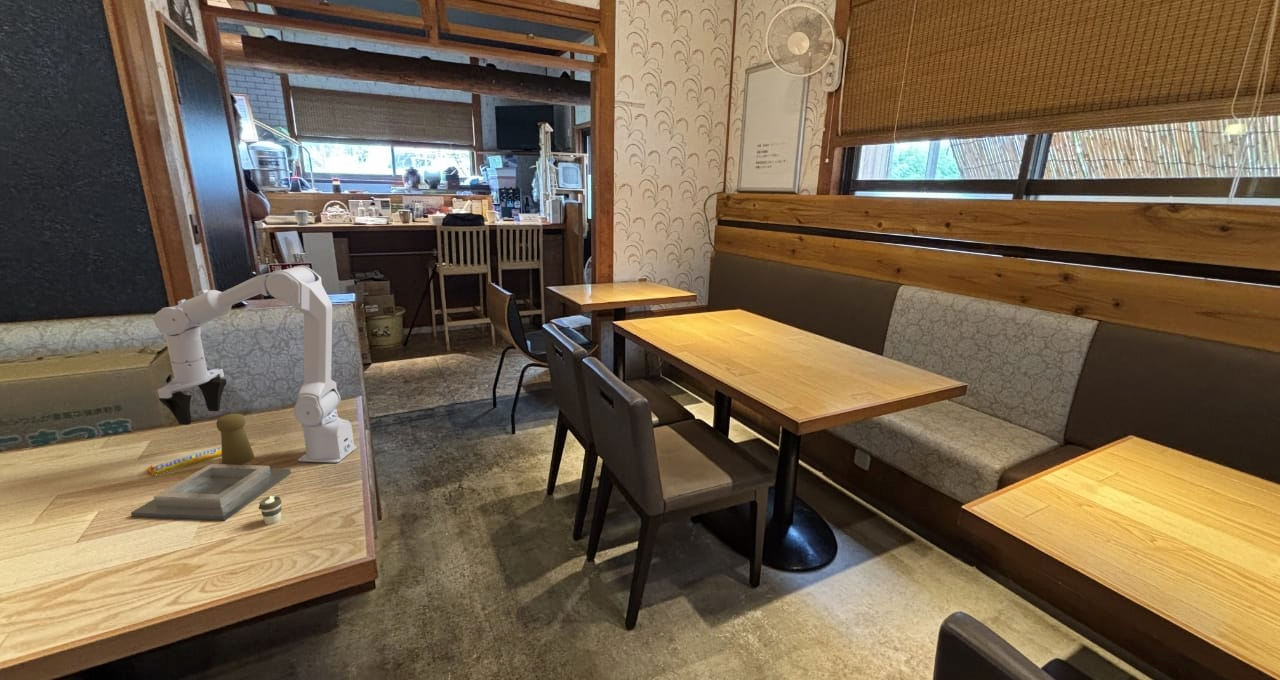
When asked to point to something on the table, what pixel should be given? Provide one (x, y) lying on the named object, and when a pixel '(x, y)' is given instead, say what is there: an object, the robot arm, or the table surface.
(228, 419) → the brown rounded piece
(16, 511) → the table surface
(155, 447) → the table surface
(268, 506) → the coffee cup
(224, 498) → the socket board
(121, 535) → the table surface
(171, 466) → the candy bar
